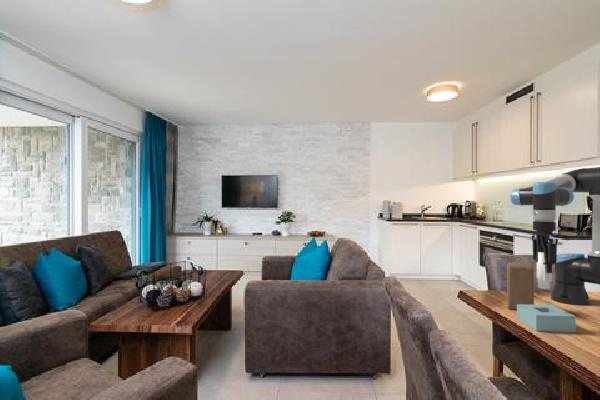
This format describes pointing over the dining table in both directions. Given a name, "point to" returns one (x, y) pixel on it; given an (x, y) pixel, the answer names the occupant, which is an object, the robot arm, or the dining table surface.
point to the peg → (542, 272)
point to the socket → (546, 318)
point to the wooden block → (520, 284)
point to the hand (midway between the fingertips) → (544, 279)
